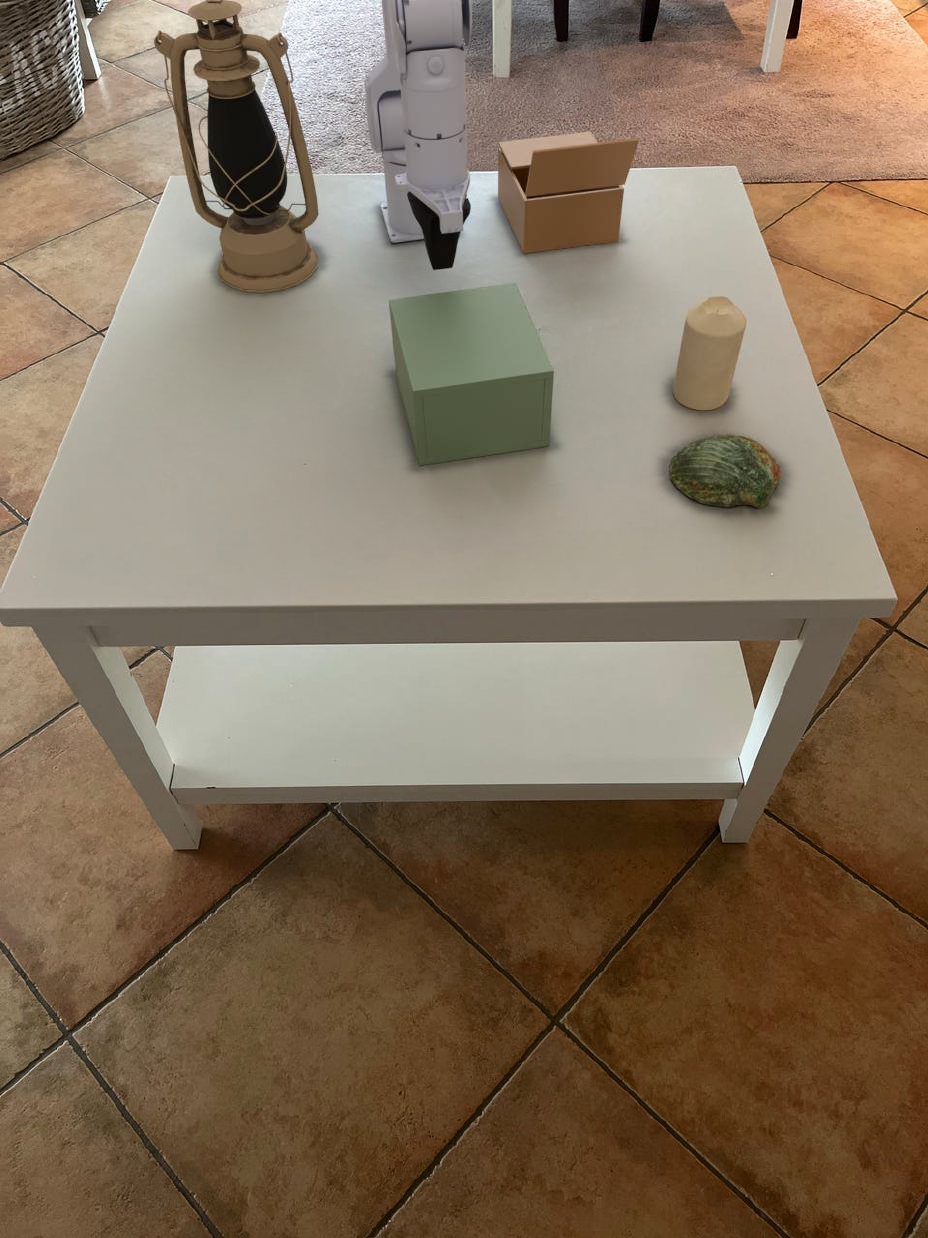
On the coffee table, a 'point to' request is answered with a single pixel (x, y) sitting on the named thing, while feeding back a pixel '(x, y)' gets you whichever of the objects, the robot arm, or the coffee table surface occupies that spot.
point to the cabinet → (471, 373)
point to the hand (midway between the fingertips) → (441, 265)
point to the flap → (580, 167)
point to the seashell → (726, 471)
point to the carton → (554, 201)
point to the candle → (708, 353)
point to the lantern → (243, 151)
